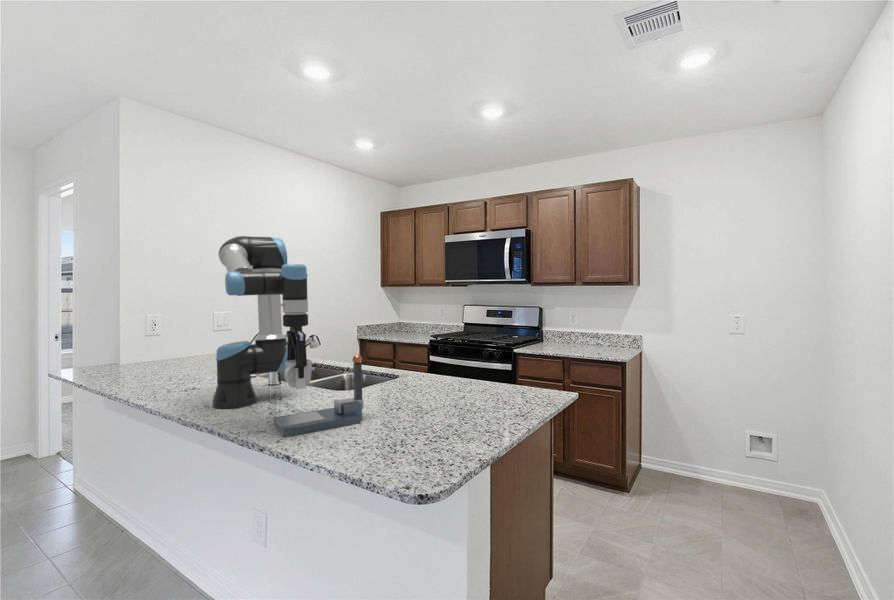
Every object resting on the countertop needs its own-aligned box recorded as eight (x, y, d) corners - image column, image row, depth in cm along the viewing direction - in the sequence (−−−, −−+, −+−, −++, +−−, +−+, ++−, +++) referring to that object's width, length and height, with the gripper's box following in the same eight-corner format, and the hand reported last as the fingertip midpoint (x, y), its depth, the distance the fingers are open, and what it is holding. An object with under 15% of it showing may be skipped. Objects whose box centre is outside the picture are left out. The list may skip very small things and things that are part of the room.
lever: (334, 410, 148) (332, 356, 147) (360, 406, 153) (359, 353, 152) (339, 414, 144) (337, 358, 143) (365, 409, 149) (364, 355, 148)
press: (274, 425, 142) (273, 408, 142) (349, 412, 156) (349, 396, 155) (283, 437, 130) (283, 419, 130) (365, 422, 144) (364, 405, 144)
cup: (297, 391, 132) (296, 365, 132) (274, 390, 134) (274, 364, 134) (317, 383, 142) (316, 359, 142) (296, 382, 144) (295, 358, 144)
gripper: (276, 312, 145) (278, 381, 145) (290, 315, 127) (292, 394, 128) (299, 311, 149) (301, 379, 149) (316, 314, 132) (318, 390, 132)
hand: (297, 385), depth 139 cm, fingers closed on cup, 7 cm apart
